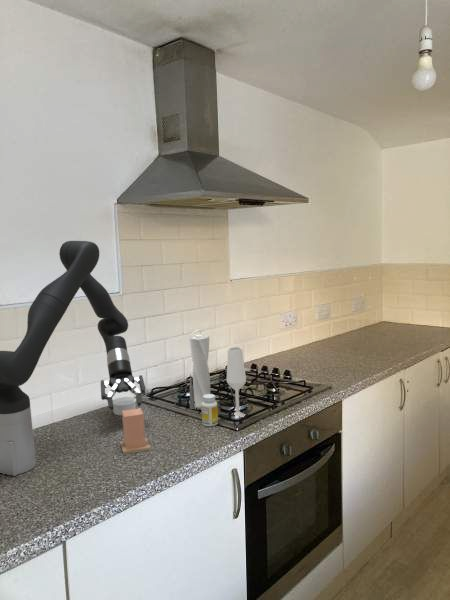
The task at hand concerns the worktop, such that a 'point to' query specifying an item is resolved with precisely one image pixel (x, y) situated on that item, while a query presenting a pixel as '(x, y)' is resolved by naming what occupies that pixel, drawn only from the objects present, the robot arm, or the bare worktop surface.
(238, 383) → the champagne flute
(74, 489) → the worktop surface
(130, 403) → the ramekin
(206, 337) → the skyscraper
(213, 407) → the supplement bottle
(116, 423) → the worktop surface
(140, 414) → the brown upright block
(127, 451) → the post
